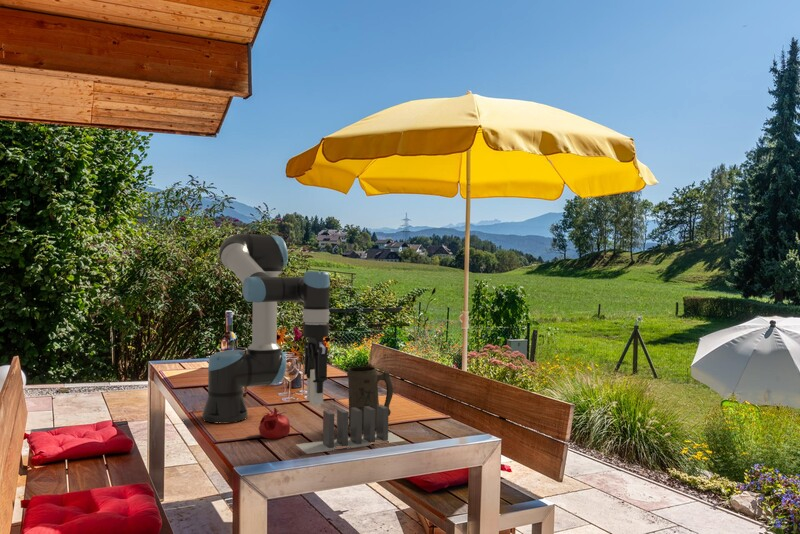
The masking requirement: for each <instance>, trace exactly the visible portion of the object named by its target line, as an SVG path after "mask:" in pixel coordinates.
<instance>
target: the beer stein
mask: <svg viewBox="0 0 800 534" xmlns="http://www.w3.org/2000/svg"><path fill="white" fill-rule="evenodd" d="M346 376H347V379H348V384H347V385H348V429H350V421H351V408H354V407H356V408H358V409H360V410H361V411H362V432H364V406H370V407H372V408H374V409H376V411H375V430H377V405H380V401H379V388H378V387H379V386H378V383H379V382H380V381H384V382H385V387H386V394H385V400H384V403H383V406H385V407H387V408H389V414H388V417H389V416H391V414H392V411H391V409H390V404H391V402H392V399H393V395H394V387H393V383H392V381H391V376H390V372H389V371H383V373H380V374H378V372H377V368H376V367H373V366H353V367H350V368H347V373H346Z"/></svg>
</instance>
